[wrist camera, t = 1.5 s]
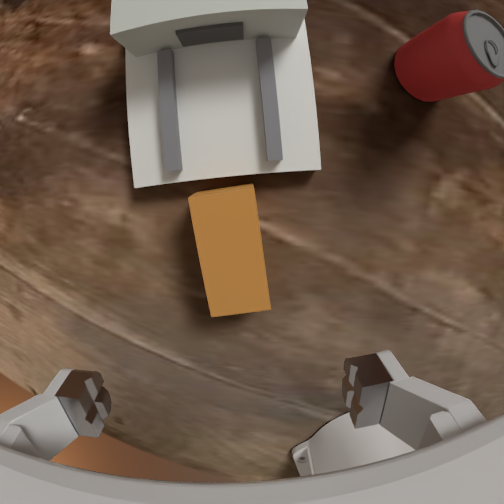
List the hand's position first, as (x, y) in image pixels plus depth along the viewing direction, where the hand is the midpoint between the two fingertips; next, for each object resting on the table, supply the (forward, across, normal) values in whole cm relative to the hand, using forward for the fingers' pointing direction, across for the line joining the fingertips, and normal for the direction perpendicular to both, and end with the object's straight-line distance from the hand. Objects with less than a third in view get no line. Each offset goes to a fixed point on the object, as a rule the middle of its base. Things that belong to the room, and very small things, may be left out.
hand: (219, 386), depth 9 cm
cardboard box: (+21, 0, +1) cm, 21 cm away
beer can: (+21, -20, -16) cm, 33 cm away
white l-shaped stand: (+21, 0, -13) cm, 25 cm away
